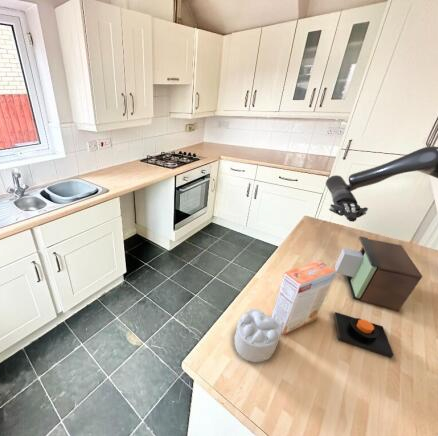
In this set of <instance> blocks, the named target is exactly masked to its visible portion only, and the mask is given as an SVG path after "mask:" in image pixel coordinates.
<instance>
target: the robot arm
mask: <svg viewBox="0 0 438 436" xmlns="http://www.w3.org/2000/svg"><path fill="white" fill-rule="evenodd" d="M410 172H412V173H413V172H419V173H422V174H424V175H428V176H431V177H433V178H435V179H438V146H431V145H430V146H425V147H422V148H419V149H417V150H415V151H412V152H410V153H407V154H405V155H403V156H400V157H398V158H395V159H393V160H391V161H388V162H386V163H382V164H380V165H377V166H375V167H370V168H367V169H365V170H364V169H363V170H360V171H358V172H355V173H352V174H350V175H349V176H348V184H347V182H346V180H345V179H344V178H343V176H341V175H337V174H336V175H335V174H334V175H331V176H330V177H328V178H327V179H326V181H325V186H326V188H327V190H328V191H329V192H330V195H331V198H332V203H333V204H332V203H331V204H329V208H328V211H330V212H332V213H334V214H335V215H338V216H340V217H343V216H344V217H345V218H346V220H348V222H355V221H357V219H358V218H361V217H363V216H365V215H366V214H367V212H368V210H369V208H368V207H365V206H364V207H361V206H360V205H359V204H358V201H357V199H356V197H355V195H354V194H353V191H355V190H358V189H360V188H364V187H368V186H372V185H375V184H378V183H381V182H383V181H385V180H387V179H389V178H392V177H394V176H397V175H400V174H401V175H402V174H405V173H410Z"/></svg>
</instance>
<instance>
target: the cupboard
mask: <svg viewBox="0 0 438 436" xmlns="http://www.w3.org/2000/svg"><path fill="white" fill-rule="evenodd" d="M358 239H359V241H360V244H361V248H360V250H359V252H361V253H362V255H363V256H364V254H365V253H366V255H367V258H368V260H369V262H370V264H371V266H374V267H377V269H376V271H375V272H374V274H373V276H372V278H371V279H370V281H369V283H368V285H367V287H366V288H365V290H364V292H363V294H362V295H361V297H360V298H356V297H355V293H354V290H353V287H352V284H351V279H352V277H351V276H347V275H345V277H346V280H347V282H348V287H349V290H350V294H351V297H352V300H354V301H359V302H362V303H366V304H368V305H372V306H376V307H380V308H383V309H388V310H391V311H394V312H399V311H400V310H401V309H402V307H403V305H404V304H405V303H406V301H407V300H408V298H409V297H410V295H411V294H412V293H413V291H414V290H415V288H416V287H417V286H418V284H419V282H420V281H421V279H423V275H422V273H421V272H420V270H419V268H418V267H417V265H415V263H414V261H413V260H412V258H411V257H410V256H409V254H408V253H407V251H406V249H405V248H404V246H403V245H402V244H397V243H392V242H387V241H381V240H375V239H371V238H369V237H364V236H359V237H358Z"/></svg>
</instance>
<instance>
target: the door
mask: <svg viewBox="0 0 438 436" xmlns="http://www.w3.org/2000/svg"><path fill="white" fill-rule="evenodd" d="M376 269H377V267H374V266H371V264H370V262H369V260H368V258H367V255H366V253H365V254H364V256H363V255H362V253H361V252H360V250H359V251H358V250H354V249H350V248H345V247H342V249H341V252H340V254H339V256H338V258H337V259H336V262H335V264H334V270H336V271H337V272H336V274H340V275H342V276H343V275H344V276H346V275H347V276H351V277H352V279H351V284H352V287H353V290H354V293H355V297H356V298H360V297H361V295H362V294H363V292H364V290H365V288H366V287H367V285H368V283H369V281H370V279H371V278H372V276H373V274H374V272H375V271H376Z"/></svg>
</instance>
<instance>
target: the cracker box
mask: <svg viewBox="0 0 438 436" xmlns="http://www.w3.org/2000/svg"><path fill="white" fill-rule="evenodd" d="M336 272H337V271H336V270H335V268H332V267H331V266H329V265H328V264H325V263H324V262H322V261H321V260H315V261H313V262H309V263H307V264H304V265H302V266H298V267H296V268H293V269H289V270H287V271H284V272H283V275H282V279H281V282H280V284H279V288H278V292H277V295H276V298H275V301H274V305H273V308H272V311H271V316H270V317H271V318H273V319H275V320H277V321H278V322H279V323H280V325H281V327H282V333H281V334H283V335H285V334H288V333H290V332H292V331H294V330H297V329H299V328H301V327H303V326H306V325H308V324H310V323H312V322H314V321H316V320H317V317H318V315H319V313H320V310H321V308H322V306H323V304H324V301H325V300H326V297H327V294H328V292H329V291H330V288H331V285H332V283H333V281H334V279H335V277H336V274H337V273H336Z"/></svg>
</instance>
